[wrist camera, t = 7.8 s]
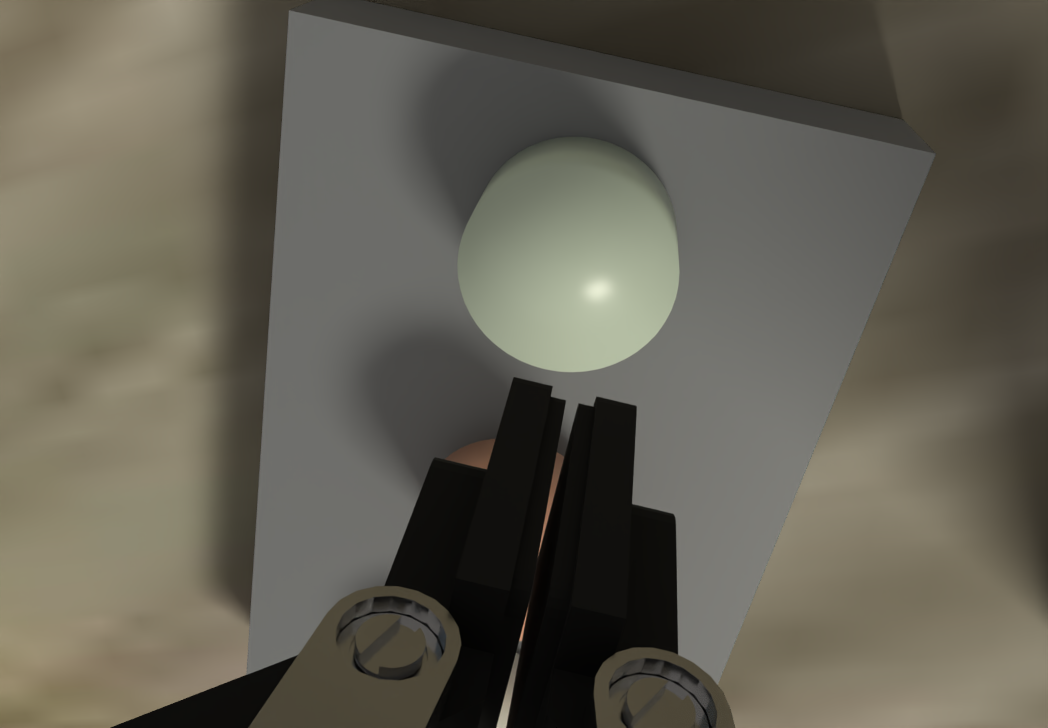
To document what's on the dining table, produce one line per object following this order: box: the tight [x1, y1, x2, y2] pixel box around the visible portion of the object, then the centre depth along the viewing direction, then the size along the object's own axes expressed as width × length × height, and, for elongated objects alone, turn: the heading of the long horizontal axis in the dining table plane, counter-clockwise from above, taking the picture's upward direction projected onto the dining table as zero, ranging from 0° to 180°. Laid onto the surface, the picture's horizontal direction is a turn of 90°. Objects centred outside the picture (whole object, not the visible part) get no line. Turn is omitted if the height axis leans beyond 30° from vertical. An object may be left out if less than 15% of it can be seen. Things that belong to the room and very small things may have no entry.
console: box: [246, 0, 936, 685], centre depth 27 cm, size 22×14×3 cm, turn 169°
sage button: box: [457, 137, 680, 372], centre depth 20 cm, size 5×5×2 cm
